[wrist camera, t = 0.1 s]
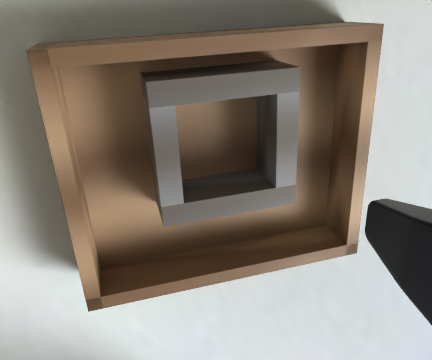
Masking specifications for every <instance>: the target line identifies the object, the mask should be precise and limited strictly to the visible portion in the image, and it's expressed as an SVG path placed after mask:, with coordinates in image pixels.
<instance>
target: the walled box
mask: <svg viewBox="0 0 432 360" xmlns="http://www.w3.org/2000/svg"><path fill="white" fill-rule="evenodd" d="M383 26H384V24H376V23H357V22H337V23H323V24H309V25H294V26H280V27H266V28H252V29H238V30H224V31H210V32H196V33H182V34H168V35H154V36H140V37H126V38H112V39H98V40H83V41H69V42H55V43H41V44H37V45H35V46H33V47H31V48H30V49H28V50H26V51H27V55H28V59H29V63H30V68H31V72H32V76H33V80H34V84H35V89H36V93H37V97H38V101H39V106H40V110H41V114H42V118H43V122H44V127H45V131H46V135H47V139H48V143H49V148H50V152H51V156H52V160H53V164H54V169H55V173H56V177H57V181H58V185H59V190H60V194H61V198H62V202H63V206H64V211H65V215H66V219H67V223H68V228H69V232H70V236H71V240H72V244H73V249H74V253H75V257H76V261H77V265H78V270H79V274H80V278H81V282H82V286H83V291H84V295H85V299H86V303H87V307H88V312H89V311H93V310H98V309H102V308H107V307H111V306H116V305H121V304H125V303H130V302H134V301H139V300H144V299H148V298H153V297H157V296H162V295H167V294H171V293H176V292H180V291H185V290H189V289H194V288H199V287H203V286H208V285H212V284H217V283H222V282H226V281H231V280H235V279H240V278H245V277H249V276H254V275H258V274H263V273H267V272H272V271H277V270H281V269H286V268H290V267H295V266H300V265H304V264H309V263H313V262H318V261H323V260H327V259H332V258H336V257H341V256H345V255H350V254H355V253H357V246H358V238H359V229H360V221H361V212H362V204H363V195H364V187H365V178H366V170H367V161H368V153H369V144H370V136H371V128H372V119H373V111H374V102H375V94H376V85H377V77H378V68H379V60H380V51H381V43H382V34H383Z"/></svg>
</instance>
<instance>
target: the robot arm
mask: <svg viewBox="0 0 432 360" xmlns="http://www.w3.org/2000/svg"><path fill="white" fill-rule="evenodd" d="M365 234H366V237H367V239H368V241H369V243H370V244H371V246H372V247H373V248H374V250H375V251H376V253H377V254H378V256H379V257H380V259H381V260H382V262H383V263H384V265H385V266H386V268H387V269H388V271H389V272H390V273H391V275H392V276H393V278H394V279H395V281H396V282H397V284H398V285H399V286H400V288H401V289H402V290H403V291H404V293H405V294H406V295H407V296H408V298H409V299H410V300H411V301H412V302H413V304H414V305H415V306H416V307H417V308H418V310H419V311H420V312H421V313H422V314H423V316H424V317H425V318H426V319H427V320H428V322H429V323H430V324H431V325H432V209H429V208H424V207H420V206H416V205H412V204H407V203H403V202H399V201H395V200H390V199H380V200H375V201H372V202H370V203H369V205H368V210H367V218H366V226H365Z"/></svg>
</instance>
